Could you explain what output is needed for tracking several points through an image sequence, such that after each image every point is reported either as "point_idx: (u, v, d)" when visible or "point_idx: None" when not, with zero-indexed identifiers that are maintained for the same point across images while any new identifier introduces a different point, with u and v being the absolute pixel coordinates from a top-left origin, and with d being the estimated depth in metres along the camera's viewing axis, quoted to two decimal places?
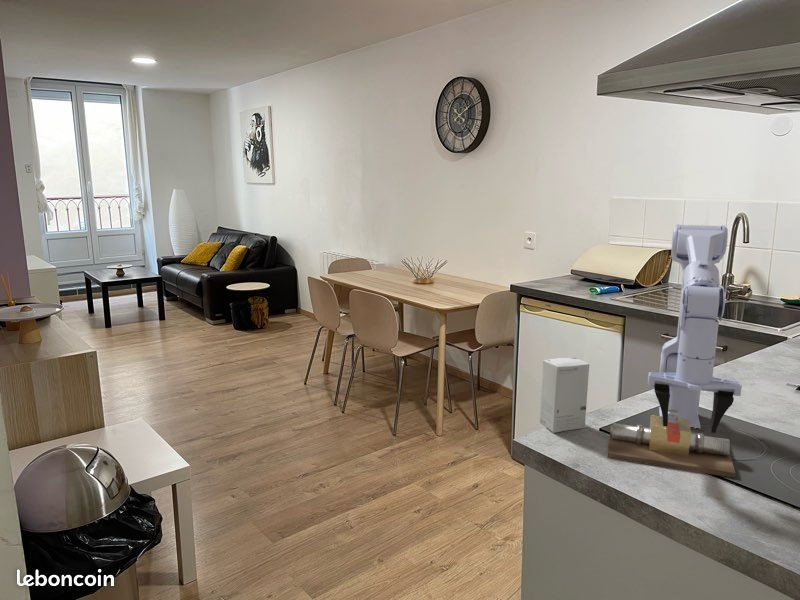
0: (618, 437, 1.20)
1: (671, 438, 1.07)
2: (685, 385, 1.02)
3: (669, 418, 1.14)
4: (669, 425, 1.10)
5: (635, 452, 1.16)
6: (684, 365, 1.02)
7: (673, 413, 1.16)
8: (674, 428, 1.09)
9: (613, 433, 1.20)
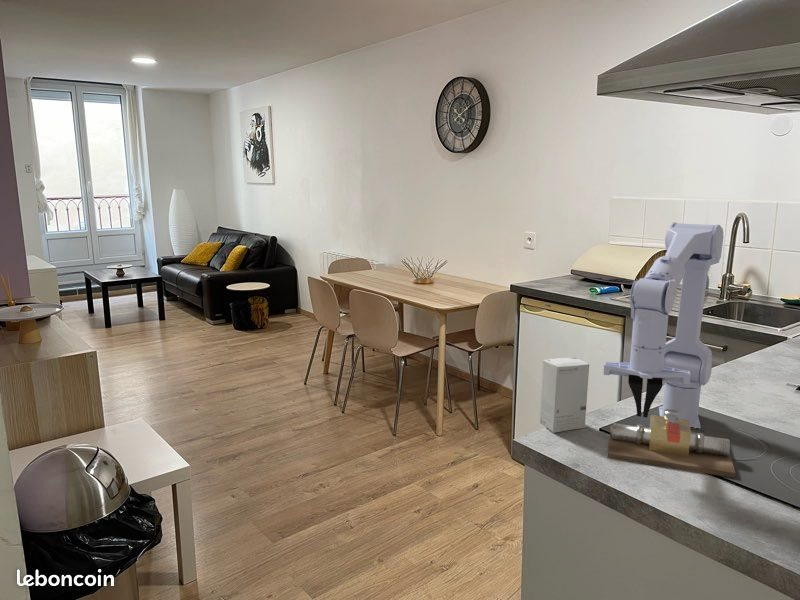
0: (618, 437, 1.20)
1: (671, 438, 1.07)
2: (637, 374, 1.06)
3: (669, 418, 1.14)
4: (669, 425, 1.10)
5: (635, 452, 1.16)
6: (636, 354, 1.06)
7: (673, 413, 1.16)
8: (674, 428, 1.09)
9: (613, 433, 1.20)
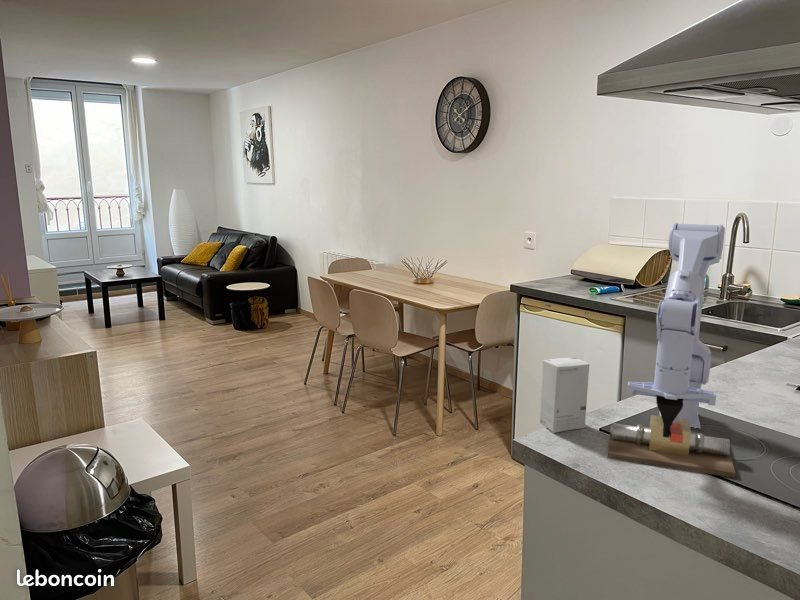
0: (618, 437, 1.20)
1: (674, 438, 1.07)
2: (662, 394, 1.06)
3: None
4: (671, 425, 1.10)
5: (635, 452, 1.16)
6: (661, 375, 1.06)
7: None
8: (676, 428, 1.09)
9: (613, 433, 1.20)
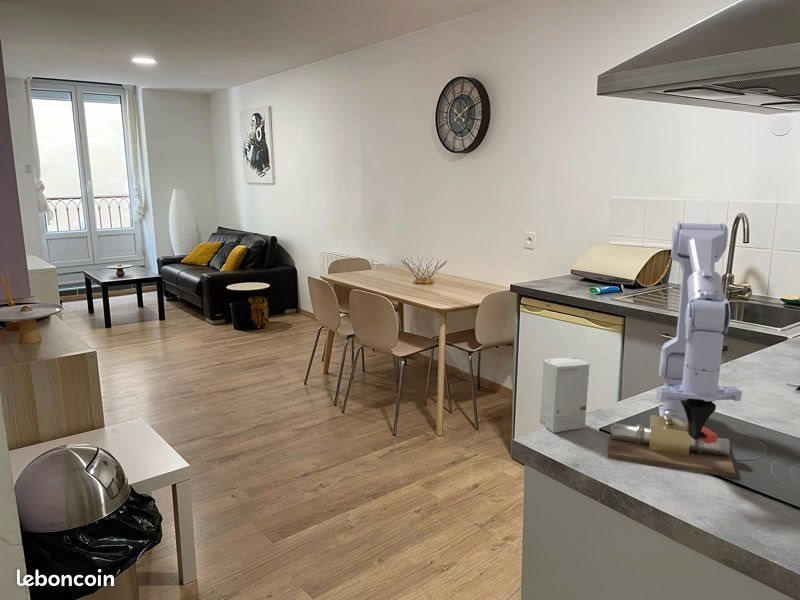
0: (618, 437, 1.20)
1: (710, 439, 1.06)
2: (698, 397, 1.04)
3: (680, 419, 1.14)
4: None
5: (635, 452, 1.16)
6: (697, 378, 1.04)
7: (675, 413, 1.16)
8: (703, 428, 1.09)
9: (613, 433, 1.20)
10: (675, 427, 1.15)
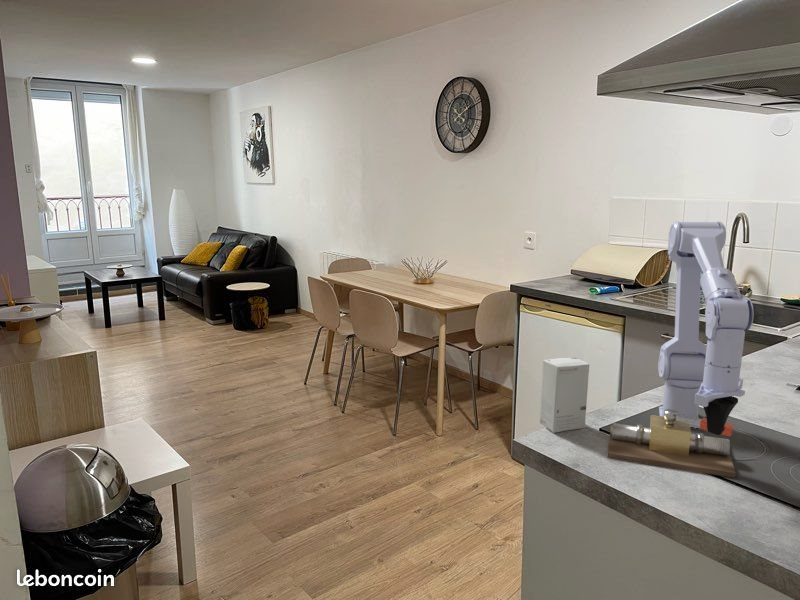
0: (618, 437, 1.20)
1: (731, 431, 1.09)
2: (731, 394, 1.05)
3: (687, 417, 1.14)
4: None
5: (635, 452, 1.16)
6: (730, 375, 1.05)
7: (676, 412, 1.16)
8: None
9: (613, 433, 1.20)
10: (675, 427, 1.15)
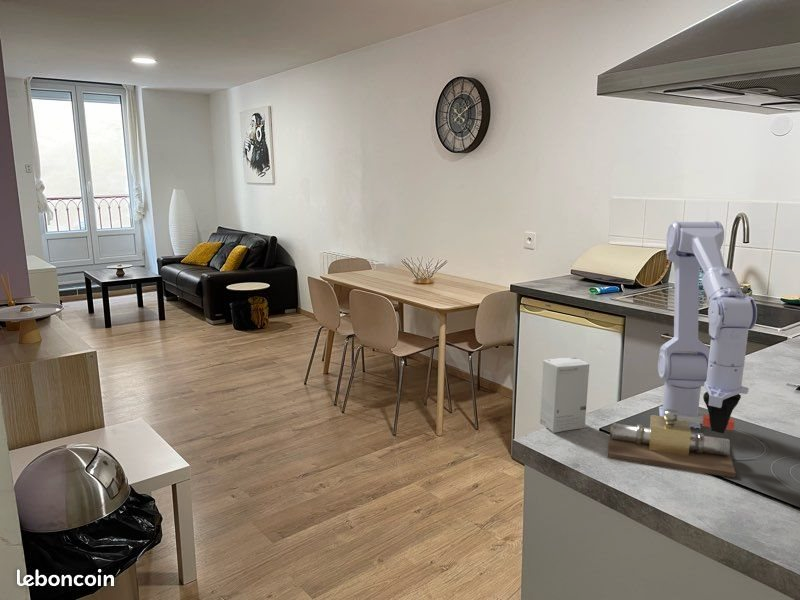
0: (618, 437, 1.20)
1: (733, 425, 1.12)
2: (738, 392, 1.06)
3: (688, 416, 1.15)
4: None
5: (635, 452, 1.16)
6: (737, 374, 1.06)
7: (676, 412, 1.16)
8: None
9: (613, 433, 1.20)
10: (675, 427, 1.15)
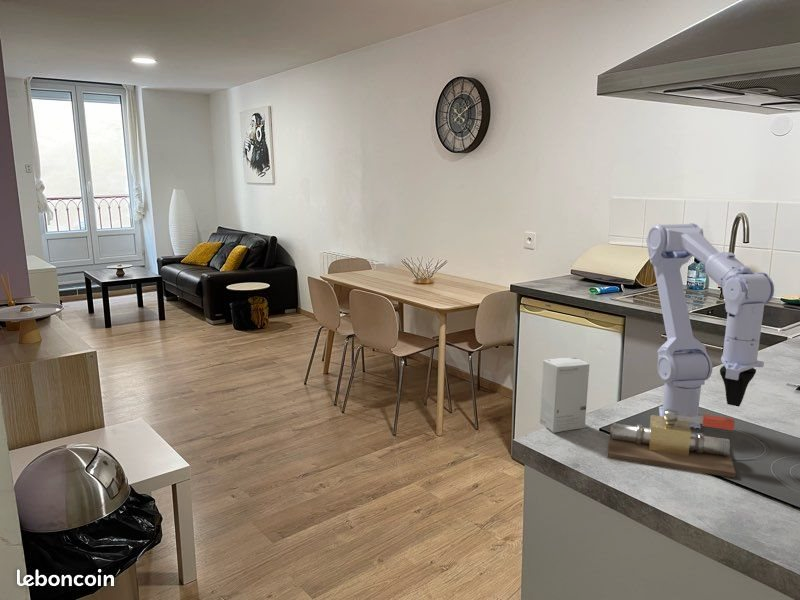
0: (618, 437, 1.20)
1: (733, 425, 1.12)
2: (754, 366, 1.10)
3: (688, 416, 1.15)
4: (712, 418, 1.13)
5: (635, 452, 1.16)
6: (753, 348, 1.09)
7: (676, 412, 1.16)
8: (718, 417, 1.13)
9: (613, 433, 1.20)
10: (675, 427, 1.15)
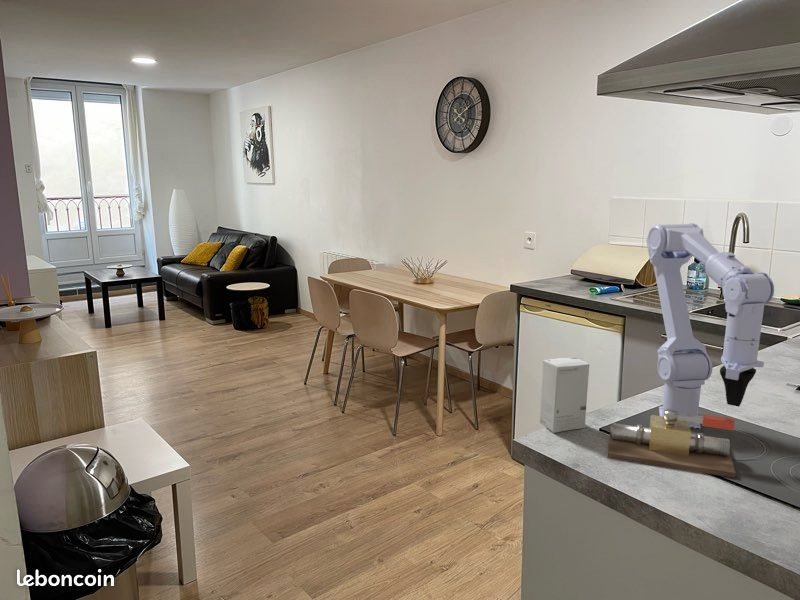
0: (618, 437, 1.20)
1: (733, 425, 1.12)
2: (754, 366, 1.10)
3: (688, 416, 1.15)
4: (712, 418, 1.13)
5: (635, 452, 1.16)
6: (753, 348, 1.09)
7: (676, 412, 1.16)
8: (718, 417, 1.13)
9: (613, 433, 1.20)
10: (675, 427, 1.15)
